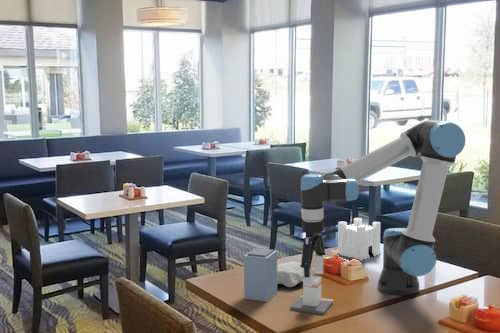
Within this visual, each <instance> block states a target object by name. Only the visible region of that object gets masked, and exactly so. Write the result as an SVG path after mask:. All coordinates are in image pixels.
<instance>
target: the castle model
mask: <svg viewBox="0 0 500 333" xmlns="http://www.w3.org/2000/svg"><path fill="white" fill-rule="evenodd" d="M371 224H372V225H368V224H364V223H363V219H362V218H361V217H354V218H353V223H351V224H348V222H347V221H343V220H342V221H337V251H338V252H339V253H340V256H344V257H346V256H348V257H347V258H350V257H354V258H358V259H361V260H360V261H364V260H363V259H365V260H367V258H368V259H370V254H369V251H371V254H373V256H374V257H377V256H376V255H378V256H380V255H379V254H381V255H382V252H381V226H382V224H381V222H380V221H373V222H372V223H371Z"/></svg>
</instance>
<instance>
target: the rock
mask: <svg viewBox="0 0 500 333" xmlns="http://www.w3.org/2000/svg"><path fill="white" fill-rule="evenodd" d="M311 267H312V276H316V275H317V274H316V273H315V266H312V265H311ZM303 279H304V273H303V268H302V267H301V262H299V261H292V260H291V261H288V262H282V263H278V264H277V285H284V286H285V287H287V288H291V287H295V286H296V285H298V284H300V283H303Z"/></svg>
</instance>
